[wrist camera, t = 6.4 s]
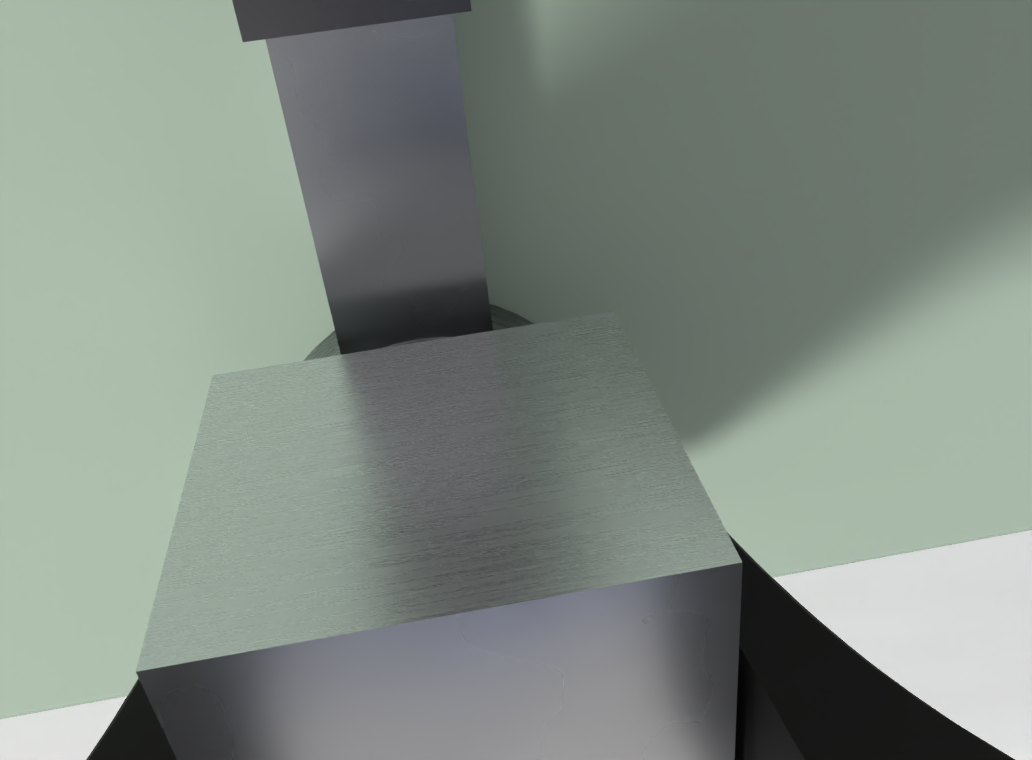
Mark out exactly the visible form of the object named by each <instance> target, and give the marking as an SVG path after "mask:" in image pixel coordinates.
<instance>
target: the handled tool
mask: <svg viewBox="0 0 1032 760" xmlns="http://www.w3.org/2000/svg"><path fill="white" fill-rule="evenodd" d="M232 2H233V6H234V10H235V14H236V18H237V22H238V26H239V30H240V33H241V37H242V41H243V42H249V41H256V40H264V39H265V40H266V45H267V49H268V53H269V57H270V61H271V65H272V70H273V74H274V78H275V82H276V86H277V90H278V95H279V99H280V103H281V107H282V111H283V115H284V120H285V124H286V128H287V132H288V136H289V140H290V145H291V149H292V153H293V157H294V161H295V166H296V170H297V174H298V178H299V182H300V186H301V191H302V195H303V199H304V203H305V207H306V211H307V216H308V220H309V224H310V228H311V232H312V236H313V241H314V245H315V249H316V253H317V257H318V261H319V266H320V270H321V274H322V278H323V282H324V286H325V291H326V295H327V299H328V303H329V307H330V311H331V316H332V320H333V324H334V328H335V331H334V332H332V333H331V334H330V335H329V336H328V337H327V338H325V339H324V340H323V341H322V342H321V343H320V344H318V345H317V346H316V347H315V348H314V349H313V351H312V352H311V353H310V354H309V355H308V356H307V357H306V358H305V360H312V359H318V358H324V357H331V356H337V355H343V354H349V353H356V352H362V351H368V350H374V349H381V348H387V347H393V346H400V345H406V344H412V343H418V342H425V341H431V340H437V339H443V338H450V337H456V336H462V335H469V334H475V333H481V332H487V331H494V330H500V329H506V328H513V327H519V326H525V325H531V324H534V323H532V322H530V321H529V320H527V319H525V318H523V317H522V316H520V315H518V314H516V313H514V312H511V311H509V310H506V309H504V308H501V307H499V306H495V305H491V304H490V303H489V296H488V288H487V280H486V272H485V265H484V257H483V249H482V241H481V234H480V226H479V218H478V210H477V203H476V195H475V187H474V179H473V172H472V164H471V156H470V148H469V141H468V133H467V125H466V117H465V110H464V102H463V94H462V86H461V79H460V71H459V63H458V55H457V48H456V40H455V32H454V25H453V17H452V14H455V13H462V12H469V11H472V10H471V2H470V0H232ZM305 360H304V361H305Z"/></svg>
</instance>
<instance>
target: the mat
mask: <svg viewBox="0 0 1032 760" xmlns="http://www.w3.org/2000/svg"><path fill="white" fill-rule="evenodd" d="M470 2H471V10H472V11H469V12H462V13H455V14H452V17H453V25H454V32H455V40H456V48H457V55H458V63H459V71H460V79H461V86H462V94H463V102H464V110H465V117H466V125H467V133H468V141H469V148H470V156H471V164H472V172H473V179H474V187H475V195H476V203H477V210H478V218H479V226H480V234H481V241H482V249H483V257H484V265H485V272H486V280H487V288H488V296H489V303H490V304H491V305H495V306H499V307H501V308H504V309H506V310H509V311H511V312H514V313H516V314H518V315H520V316H522V317H523V318H525V319H527V320H529V321H530V322H532V323H534V324H538V323H544V322H550V321H556V320H563V319H569V318H575V317H582V316H588V315H594V314H600V313H607V312H614V314H615V316H616V317H617V319H618V321H619V323H620V325H621V327H622V329H623V331H624V333H625V335H626V337H627V339H628V341H629V343H630V345H631V347H632V349H633V351H634V352H635V354H636V356H637V358H638V360H639V362H640V364H641V366H642V368H643V370H644V372H645V374H646V376H647V378H648V380H649V382H650V384H651V385H652V387H653V389H654V391H655V393H656V395H657V397H658V399H659V401H660V403H661V405H662V407H663V409H664V411H665V413H666V415H667V417H668V419H669V420H670V422H671V424H672V426H673V428H674V430H675V432H676V434H677V436H678V438H679V440H680V442H681V444H682V446H683V448H684V450H685V452H686V454H687V455H688V457H689V459H690V461H691V463H692V465H693V467H694V469H695V471H696V473H697V475H698V477H699V479H700V481H701V483H702V485H703V487H704V489H705V490H706V492H707V494H708V496H709V498H710V500H711V502H712V504H713V506H714V508H715V510H716V512H717V514H718V516H719V518H720V520H721V522H722V523H723V525H724V527H725V529H726V531H727V532H728V534H729V535H730V536H731V537H732V538H733V539H734V540H735V541H736V542H737V543H738V544H739V545H740V546H741V547H742V548H743V549H744V550H745V551H746V552H747V553H748V554H749V555H750V556H751V557H752V558H753V559H754V560H755V561H756V562H757V563H758V564H759V565H760V566H761V567H762V568H763V569H764V570H765V571H766V572H767V573H768V574H769V575H770V576H771V577H778V576H783V575H788V574H794V573H799V572H805V571H810V570H816V569H821V568H827V567H832V566H837V565H843V564H848V563H854V562H859V561H865V560H870V559H876V558H881V557H887V556H892V555H897V554H903V553H908V552H914V551H919V550H925V549H930V548H936V547H941V546H946V545H952V544H957V543H963V542H968V541H974V540H979V539H985V538H990V537H995V536H1001V535H1006V534H1012V533H1017V532H1023V531H1028V530H1032V0H470ZM334 331H335V328H334V324H333V320H332V316H331V311H330V307H329V303H328V299H327V295H326V291H325V286H324V282H323V278H322V274H321V270H320V266H319V261H318V257H317V253H316V249H315V245H314V241H313V236H312V232H311V228H310V224H309V220H308V216H307V211H306V207H305V203H304V199H303V195H302V191H301V186H300V182H299V178H298V174H297V170H296V166H295V161H294V157H293V153H292V149H291V145H290V140H289V136H288V132H287V128H286V124H285V120H284V115H283V111H282V107H281V103H280V99H279V95H278V90H277V86H276V82H275V78H274V74H273V70H272V65H271V61H270V57H269V53H268V49H267V45H266V40H265V39H264V40H256V41H249V42H243V41H242V37H241V33H240V30H239V26H238V22H237V18H236V14H235V10H234V6H233V2H232V0H0V719H4V718H10V717H15V716H20V715H26V714H31V713H37V712H42V711H48V710H53V709H59V708H64V707H69V706H75V705H80V704H86V703H91V702H97V701H102V700H108V699H113V698H118V697H124V696H128V694H129V693H130V691H131V690H132V688H133V686H134V685H135V683H136V681H137V680H138V676H137V673H136V669H137V665H138V661H139V657H140V653H141V650H142V646H143V642H144V638H145V634H146V630H147V626H148V623H149V619H150V615H151V611H152V607H153V603H154V599H155V596H156V592H157V588H158V584H159V580H160V576H161V572H162V569H163V565H164V561H165V557H166V553H167V549H168V545H169V542H170V538H171V534H172V530H173V526H174V522H175V518H176V515H177V511H178V507H179V503H180V499H181V495H182V491H183V488H184V484H185V480H186V476H187V472H188V468H189V464H190V461H191V457H192V453H193V449H194V445H195V441H196V437H197V434H198V430H199V426H200V422H201V418H202V414H203V410H204V407H205V403H206V399H207V395H208V391H209V387H210V383H211V380H212V376H213V375H218V374H224V373H230V372H236V371H243V370H249V369H255V368H261V367H268V366H274V365H280V364H287V363H293V362H299V361H304V360H305V358H306V357H307V356H308V355H309V354H310V353H311V352H312V351H313V349H314V348H315V347H316V346H317V345H318V344H320V343H321V342H322V341H323V340H324V339H325V338H327V337H328V336H329V335H330V334H331V333H332V332H334Z"/></svg>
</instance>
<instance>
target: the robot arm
mask: <svg viewBox="0 0 1032 760" xmlns="http://www.w3.org/2000/svg"><path fill="white" fill-rule="evenodd" d="M727 533H728V532H727ZM728 535H729V534H728ZM729 537H730V539H731V541H732V543H733V545H734V547H735V549H736V551H737V553H738V555H739V557H740V558H741V560H742V587H741V612H740V637H739V662H738V687H737V712H736V737H735V760H1015V759H1013V758H1011V757H1010V756H1008V755H1006V754H1005V753H1003V752H1002V751H1000V750H998V749H997V748H995V747H993V746H992V745H990V744H988V743H987V742H985V741H983V740H982V739H980V738H979V737H977V736H975V735H974V734H972V733H970V732H969V731H967V730H965V729H964V728H962V727H961V726H959V725H957V724H956V723H954V722H953V721H951V720H950V719H948V718H947V717H945V716H944V715H942V714H941V713H939V712H938V711H937V710H935V709H934V708H932V707H931V706H929V705H928V704H926V703H925V702H923V701H922V700H920V699H919V698H918V697H916V696H915V695H913V694H912V693H910V692H909V691H908V690H906V689H905V688H904V687H902V686H901V685H899V684H898V683H897V682H895V681H894V680H893V679H891V678H890V677H889V676H887V675H886V674H884V673H883V672H882V671H880V670H879V669H878V668H877V667H875V666H874V665H873V664H871V663H870V662H869V661H867V660H866V659H865V658H864V657H862V656H861V655H860V654H859V653H857V652H856V651H855V650H854V649H852V648H851V647H850V646H849V645H847V644H846V643H845V642H844V641H843V640H842V639H840V638H839V637H838V636H837V635H836V634H834V633H833V632H832V631H831V630H830V629H828V628H827V627H826V626H825V625H824V624H823V623H821V622H820V621H819V620H818V619H817V618H816V617H815V616H813V615H812V614H811V613H810V612H809V611H808V610H807V609H805V608H804V607H803V606H802V605H801V604H800V603H799V602H798V601H797V600H796V599H795V598H793V597H792V596H791V595H790V594H789V593H788V592H787V591H786V590H785V589H784V588H783V587H782V586H781V585H780V584H779V583H777V582H776V581H775V580H774V579H773V578H772V577H771V576H770V575H769V574H768V573H767V572H766V571H765V570H764V569H763V568H762V567H761V566H760V565H759V564H758V563H757V562H756V561H755V560H754V559H753V558H752V557H751V556H750V555H749V554H748V553H747V552H746V551H745V550H744V549H743V548H742V547H741V546H740V545H739V544H738V543H737V542H736V541H735V540H734V539H733V538H732V537H731V536H730V535H729ZM87 760H177V759H176V756H175V754H174V752H173V750H172V748H171V746H170V744H169V742H168V739H167V737H166V735H165V733H164V731H163V729H162V727H161V725H160V722H159V720H158V718H157V716H156V714H155V712H154V710H153V708H152V705H151V703H150V701H149V699H148V697H147V695H146V693H145V690H144V688H143V686H142V684H141V682H140V680H139V678H138V680H137V681H136V683H135V685H134V686H133V688H132V690H131V691H130V693H129V694H128V696H127V698H126V699H125V701H124V703H123V704H122V706H121V708H120V709H119V711H118V712H117V714H116V716H115V717H114V719H113V721H112V722H111V724H110V725H109V727H108V728H107V730H106V731H105V733H104V734H103V736H102V737H101V739H100V740H99V742H98V743H97V745H96V746H95V748H94V749H93V751H92V752H91V754H90V755H89V757H88V758H87Z"/></svg>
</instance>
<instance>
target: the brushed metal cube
mask: <svg viewBox="0 0 1032 760" xmlns="http://www.w3.org/2000/svg"><path fill="white" fill-rule="evenodd" d="M741 587H742V560H741V558H740V557H739V555H738V553H737V551H736V549H735V547H734V545H733V543H732V541H731V539H730V537H729V535H728V533H727V531H726V529H725V527H724V525H723V523H722V522H721V520H720V518H719V516H718V514H717V512H716V510H715V508H714V506H713V504H712V502H711V500H710V498H709V496H708V494H707V492H706V490H705V489H704V487H703V485H702V483H701V481H700V479H699V477H698V475H697V473H696V471H695V469H694V467H693V465H692V463H691V461H690V459H689V457H688V455H687V454H686V452H685V450H684V448H683V446H682V444H681V442H680V440H679V438H678V436H677V434H676V432H675V430H674V428H673V426H672V424H671V422H670V420H669V419H668V417H667V415H666V413H665V411H664V409H663V407H662V405H661V403H660V401H659V399H658V397H657V395H656V393H655V391H654V389H653V387H652V385H651V384H650V382H649V380H648V378H647V376H646V374H645V372H644V370H643V368H642V366H641V364H640V362H639V360H638V358H637V356H636V354H635V352H634V351H633V349H632V347H631V345H630V343H629V341H628V339H627V337H626V335H625V333H624V331H623V329H622V327H621V325H620V323H619V321H618V319H617V317H616V316H615V314H614V312H607V313H600V314H594V315H588V316H582V317H575V318H569V319H563V320H556V321H550V322H544V323H538V324H531V325H525V326H519V327H513V328H506V329H500V330H494V331H487V332H481V333H475V334H469V335H462V336H456V337H450V338H443V339H437V340H431V341H425V342H418V343H412V344H406V345H400V346H393V347H387V348H381V349H374V350H368V351H362V352H356V353H349V354H343V355H337V356H331V357H324V358H318V359H312V360H305V361H299V362H293V363H287V364H280V365H274V366H268V367H261V368H255V369H249V370H243V371H236V372H230V373H224V374H218V375H213V376H212V380H211V383H210V387H209V391H208V395H207V399H206V403H205V407H204V410H203V414H202V418H201V422H200V426H199V430H198V434H197V437H196V441H195V445H194V449H193V453H192V457H191V461H190V464H189V468H188V472H187V476H186V480H185V484H184V488H183V491H182V495H181V499H180V503H179V507H178V511H177V515H176V518H175V522H174V526H173V530H172V534H171V538H170V542H169V545H168V549H167V553H166V557H165V561H164V565H163V569H162V572H161V576H160V580H159V584H158V588H157V592H156V596H155V599H154V603H153V607H152V611H151V615H150V619H149V623H148V626H147V630H146V634H145V638H144V642H143V646H142V650H141V653H140V657H139V661H138V665H137V669H136V673H137V676H138V678H139V680H140V682H141V684H142V686H143V688H144V690H145V693H146V695H147V697H148V699H149V701H150V703H151V705H152V708H153V710H154V712H155V714H156V716H157V718H158V720H159V722H160V725H161V727H162V729H163V731H164V733H165V735H166V737H167V739H168V742H169V744H170V746H171V748H172V750H173V752H174V754H175V756H176V759H177V760H735V737H736V712H737V687H738V662H739V637H740V612H741Z"/></svg>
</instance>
